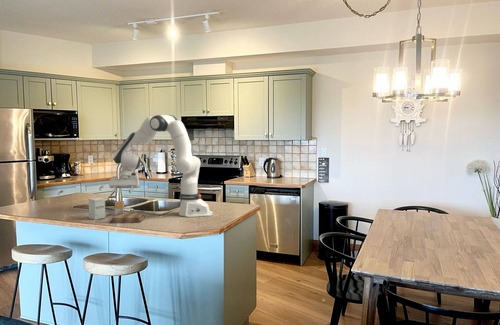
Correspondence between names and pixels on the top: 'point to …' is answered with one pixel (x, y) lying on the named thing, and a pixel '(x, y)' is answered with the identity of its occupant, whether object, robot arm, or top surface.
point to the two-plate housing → (119, 207)
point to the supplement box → (96, 208)
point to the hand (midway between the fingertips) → (122, 192)
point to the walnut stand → (128, 218)
